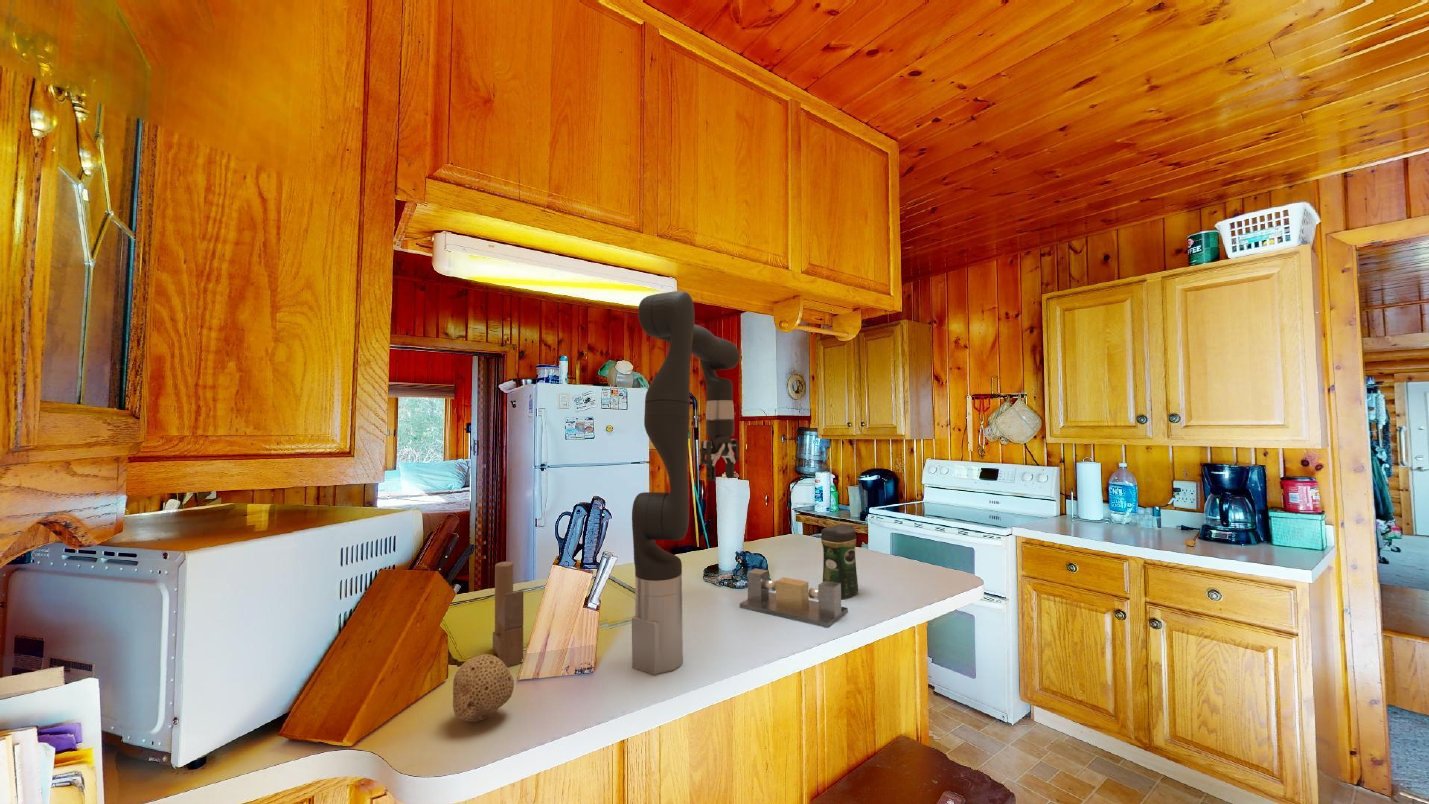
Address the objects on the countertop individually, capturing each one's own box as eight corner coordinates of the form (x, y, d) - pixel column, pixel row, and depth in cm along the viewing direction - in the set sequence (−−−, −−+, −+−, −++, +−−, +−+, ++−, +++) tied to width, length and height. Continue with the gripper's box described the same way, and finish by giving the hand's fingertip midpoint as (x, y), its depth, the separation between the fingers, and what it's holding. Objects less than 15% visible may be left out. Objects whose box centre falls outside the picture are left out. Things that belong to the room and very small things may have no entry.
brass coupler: (801, 610, 129) (801, 585, 129) (776, 605, 133) (775, 581, 133) (808, 606, 132) (808, 581, 133) (783, 600, 136) (783, 577, 137)
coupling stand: (827, 627, 121) (827, 592, 121) (739, 607, 135) (739, 575, 135) (847, 612, 131) (847, 579, 131) (763, 594, 145) (763, 565, 145)
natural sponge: (519, 702, 90) (519, 642, 90) (506, 732, 81) (506, 666, 82) (462, 707, 89) (462, 646, 89) (443, 738, 80) (443, 670, 80)
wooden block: (504, 668, 103) (505, 574, 104) (492, 649, 112) (492, 562, 113) (524, 662, 105) (524, 571, 106) (510, 644, 114) (510, 560, 115)
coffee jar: (839, 587, 151) (837, 521, 151) (862, 593, 145) (861, 525, 145) (817, 594, 144) (815, 525, 145) (841, 601, 138) (839, 529, 139)
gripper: (723, 418, 149) (724, 476, 149) (692, 418, 138) (693, 481, 137) (746, 417, 145) (747, 477, 144) (715, 417, 133) (716, 482, 133)
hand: (720, 479), depth 141 cm, fingers open, 8 cm apart
